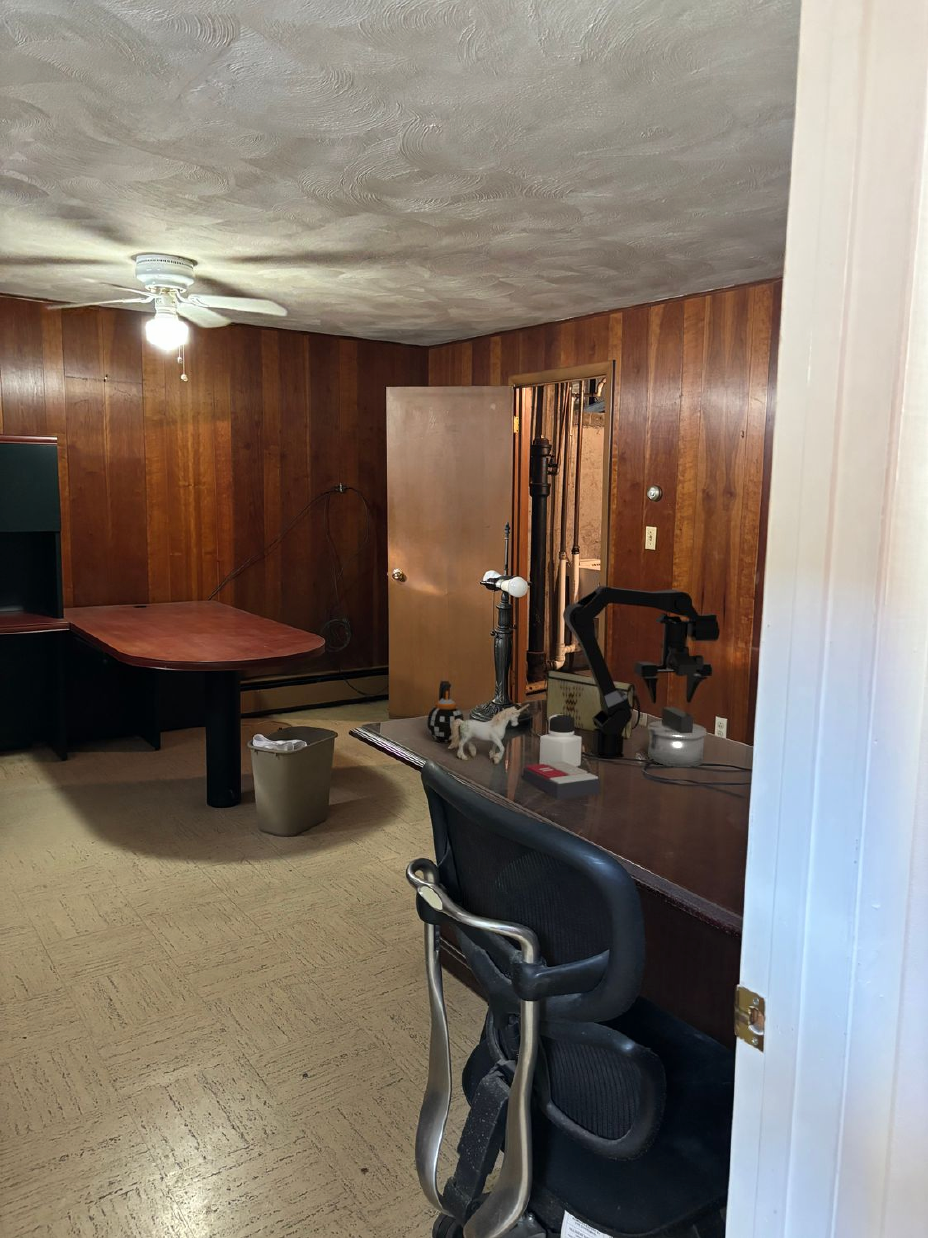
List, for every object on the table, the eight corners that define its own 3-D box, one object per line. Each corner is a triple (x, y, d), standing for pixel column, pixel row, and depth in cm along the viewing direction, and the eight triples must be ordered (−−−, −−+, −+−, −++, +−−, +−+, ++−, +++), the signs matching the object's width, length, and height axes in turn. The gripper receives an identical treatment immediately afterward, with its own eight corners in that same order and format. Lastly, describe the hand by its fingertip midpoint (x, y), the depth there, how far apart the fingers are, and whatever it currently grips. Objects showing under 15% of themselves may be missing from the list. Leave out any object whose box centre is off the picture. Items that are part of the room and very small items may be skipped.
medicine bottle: (581, 765, 211) (583, 716, 210) (562, 772, 206) (565, 721, 205) (556, 759, 216) (558, 711, 215) (538, 765, 211) (540, 715, 209)
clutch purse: (644, 736, 240) (647, 682, 238) (631, 741, 235) (634, 685, 233) (551, 717, 258) (553, 666, 256) (538, 721, 253) (540, 669, 251)
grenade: (423, 734, 235) (425, 679, 233) (459, 734, 237) (460, 678, 235) (429, 746, 224) (430, 688, 222) (466, 745, 226) (468, 687, 224)
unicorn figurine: (529, 766, 210) (531, 710, 208) (446, 764, 210) (448, 708, 208) (527, 757, 217) (529, 703, 215) (447, 755, 217) (448, 701, 215)
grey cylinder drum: (662, 768, 211) (664, 739, 210) (639, 753, 223) (640, 726, 222) (712, 766, 214) (714, 737, 213) (686, 751, 226) (687, 724, 225)
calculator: (564, 759, 204) (601, 775, 191) (564, 778, 205) (601, 795, 191) (522, 764, 200) (557, 781, 186) (522, 783, 200) (557, 801, 187)
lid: (717, 738, 213) (718, 717, 212) (663, 740, 209) (664, 719, 208) (688, 723, 226) (689, 704, 225) (637, 725, 223) (638, 706, 222)
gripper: (652, 646, 210) (649, 711, 212) (725, 646, 214) (721, 709, 216) (634, 639, 221) (631, 700, 223) (704, 639, 225) (700, 699, 227)
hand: (671, 703), depth 222 cm, fingers open, 9 cm apart
